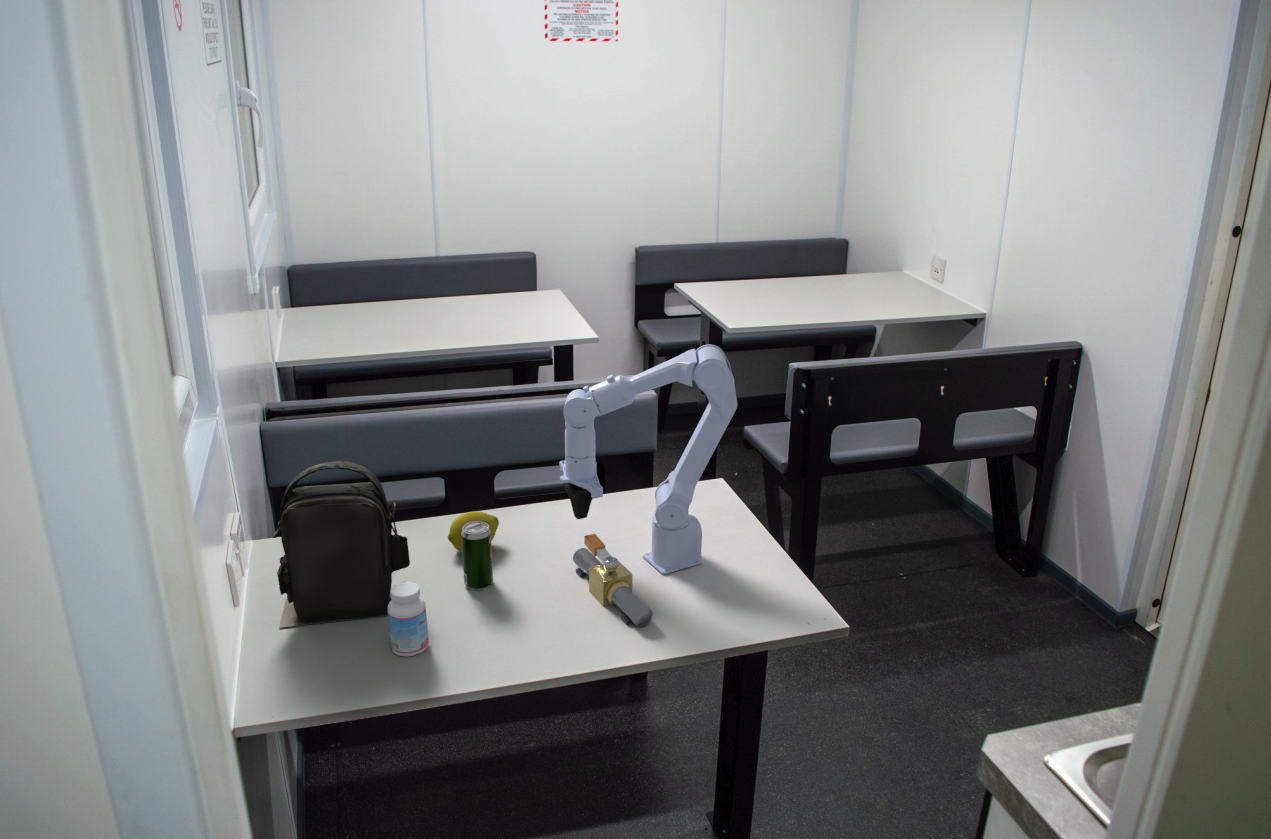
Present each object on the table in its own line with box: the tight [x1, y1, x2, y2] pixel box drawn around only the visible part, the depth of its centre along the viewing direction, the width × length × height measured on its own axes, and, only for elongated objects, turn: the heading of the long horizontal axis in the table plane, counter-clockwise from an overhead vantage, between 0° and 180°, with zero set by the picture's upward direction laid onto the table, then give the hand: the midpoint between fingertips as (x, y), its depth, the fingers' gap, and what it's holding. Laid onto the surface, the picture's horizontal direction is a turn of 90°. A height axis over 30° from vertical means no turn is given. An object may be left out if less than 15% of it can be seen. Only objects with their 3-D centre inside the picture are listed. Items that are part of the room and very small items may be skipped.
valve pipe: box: [572, 547, 654, 628], centre depth 164 cm, size 6×24×5 cm, turn 30°
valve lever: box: [583, 533, 619, 573], centre depth 167 cm, size 11×3×2 cm, turn 25°
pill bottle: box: [387, 581, 430, 657], centre depth 147 cm, size 6×6×11 cm
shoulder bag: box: [272, 460, 411, 629], centre depth 155 cm, size 23×9×28 cm, turn 103°
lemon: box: [447, 511, 500, 553], centre depth 179 cm, size 11×8×8 cm
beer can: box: [461, 521, 494, 592], centre depth 166 cm, size 5×5×12 cm
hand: (580, 517), depth 174 cm, fingers closed
